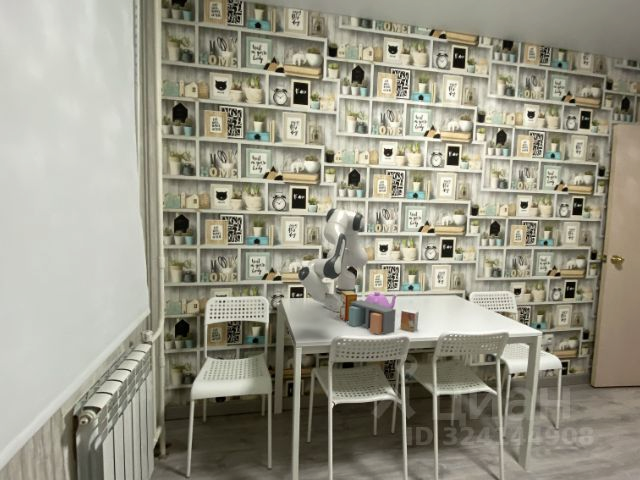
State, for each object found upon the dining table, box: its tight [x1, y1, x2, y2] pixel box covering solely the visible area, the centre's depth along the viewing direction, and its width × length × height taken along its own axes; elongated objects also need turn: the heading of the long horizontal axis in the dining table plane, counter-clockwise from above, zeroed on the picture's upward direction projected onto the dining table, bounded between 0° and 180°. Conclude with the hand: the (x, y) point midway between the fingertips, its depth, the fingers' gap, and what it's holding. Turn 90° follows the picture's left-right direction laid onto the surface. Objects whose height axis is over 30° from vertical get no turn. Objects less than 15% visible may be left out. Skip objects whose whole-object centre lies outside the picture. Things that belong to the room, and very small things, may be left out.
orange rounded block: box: [369, 312, 384, 335], centre depth 217 cm, size 9×5×10 cm, turn 132°
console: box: [351, 299, 397, 335], centre depth 225 cm, size 8×25×12 cm, turn 42°
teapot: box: [364, 291, 399, 309], centre depth 251 cm, size 22×22×14 cm
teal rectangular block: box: [347, 306, 366, 327], centre depth 229 cm, size 9×5×10 cm, turn 132°
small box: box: [399, 308, 420, 333], centre depth 223 cm, size 8×6×10 cm
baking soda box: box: [339, 291, 358, 322], centre depth 239 cm, size 10×6×16 cm
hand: (333, 307), depth 215 cm, fingers closed
